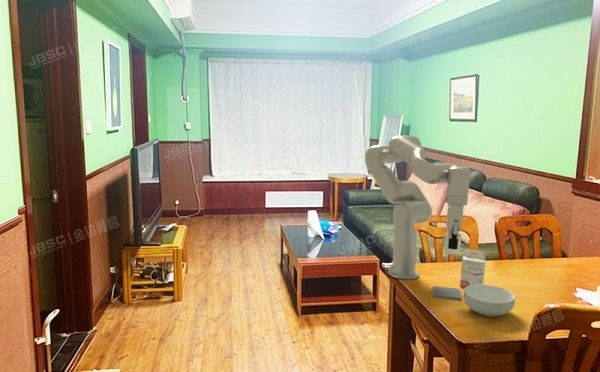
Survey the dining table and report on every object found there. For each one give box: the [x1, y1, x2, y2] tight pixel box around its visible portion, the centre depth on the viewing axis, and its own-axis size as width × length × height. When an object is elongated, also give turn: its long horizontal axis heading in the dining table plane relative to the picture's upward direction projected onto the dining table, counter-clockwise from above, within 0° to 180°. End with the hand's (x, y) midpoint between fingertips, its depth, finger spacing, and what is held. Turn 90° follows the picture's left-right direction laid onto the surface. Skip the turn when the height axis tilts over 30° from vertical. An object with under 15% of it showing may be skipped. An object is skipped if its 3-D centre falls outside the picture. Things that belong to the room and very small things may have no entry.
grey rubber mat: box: [432, 285, 462, 301], centre depth 179 cm, size 10×10×1 cm
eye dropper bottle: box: [443, 229, 462, 256], centre depth 176 cm, size 4×6×12 cm
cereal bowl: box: [463, 284, 516, 318], centre depth 163 cm, size 17×17×7 cm
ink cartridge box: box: [459, 248, 486, 289], centre depth 186 cm, size 9×5×15 cm, turn 65°
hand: (452, 246), depth 176 cm, fingers closed on eye dropper bottle, 3 cm apart
